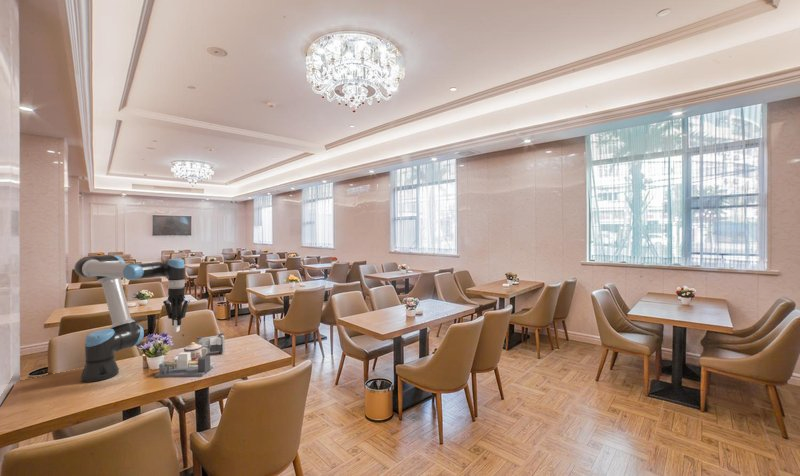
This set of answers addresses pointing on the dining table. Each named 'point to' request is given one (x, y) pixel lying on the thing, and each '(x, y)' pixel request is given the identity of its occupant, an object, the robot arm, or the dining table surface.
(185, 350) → the teacup with lid
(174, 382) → the dining table surface
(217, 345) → the toy buggy
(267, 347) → the dining table surface
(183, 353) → the marker sleeve
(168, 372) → the grey stepped fixture
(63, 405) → the dining table surface
